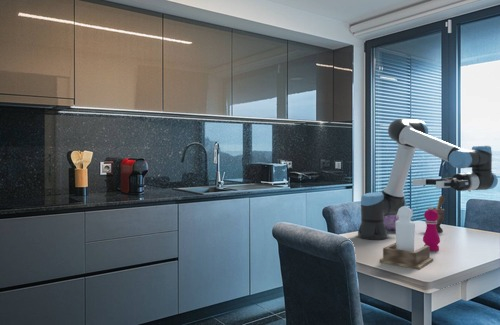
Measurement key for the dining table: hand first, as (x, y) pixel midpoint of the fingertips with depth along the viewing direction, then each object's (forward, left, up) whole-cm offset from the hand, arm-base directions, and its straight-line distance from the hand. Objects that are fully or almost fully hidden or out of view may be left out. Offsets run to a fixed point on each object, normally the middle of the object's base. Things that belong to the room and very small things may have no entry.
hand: (424, 183), depth 164 cm
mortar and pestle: (-16, +68, -32) cm, 77 cm away
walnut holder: (-5, -7, -32) cm, 33 cm away
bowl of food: (-37, +60, -32) cm, 77 cm away
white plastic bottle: (-5, -8, -31) cm, 33 cm away
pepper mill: (-4, +21, -32) cm, 39 cm away
